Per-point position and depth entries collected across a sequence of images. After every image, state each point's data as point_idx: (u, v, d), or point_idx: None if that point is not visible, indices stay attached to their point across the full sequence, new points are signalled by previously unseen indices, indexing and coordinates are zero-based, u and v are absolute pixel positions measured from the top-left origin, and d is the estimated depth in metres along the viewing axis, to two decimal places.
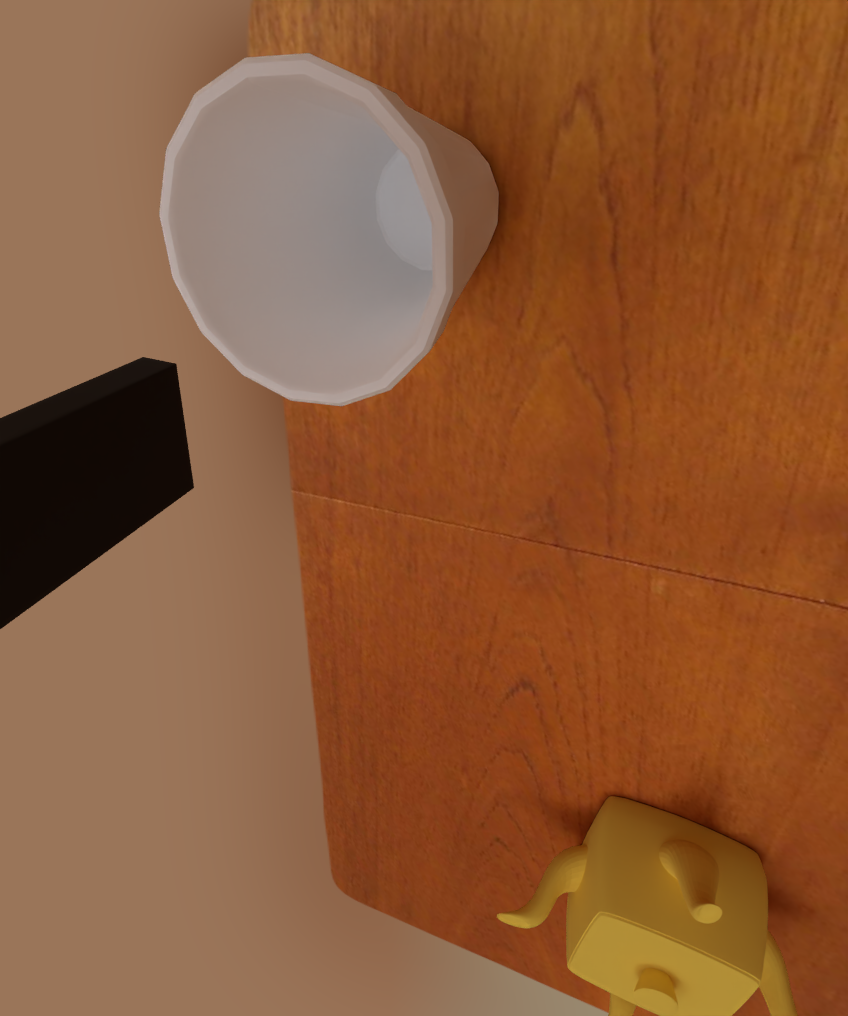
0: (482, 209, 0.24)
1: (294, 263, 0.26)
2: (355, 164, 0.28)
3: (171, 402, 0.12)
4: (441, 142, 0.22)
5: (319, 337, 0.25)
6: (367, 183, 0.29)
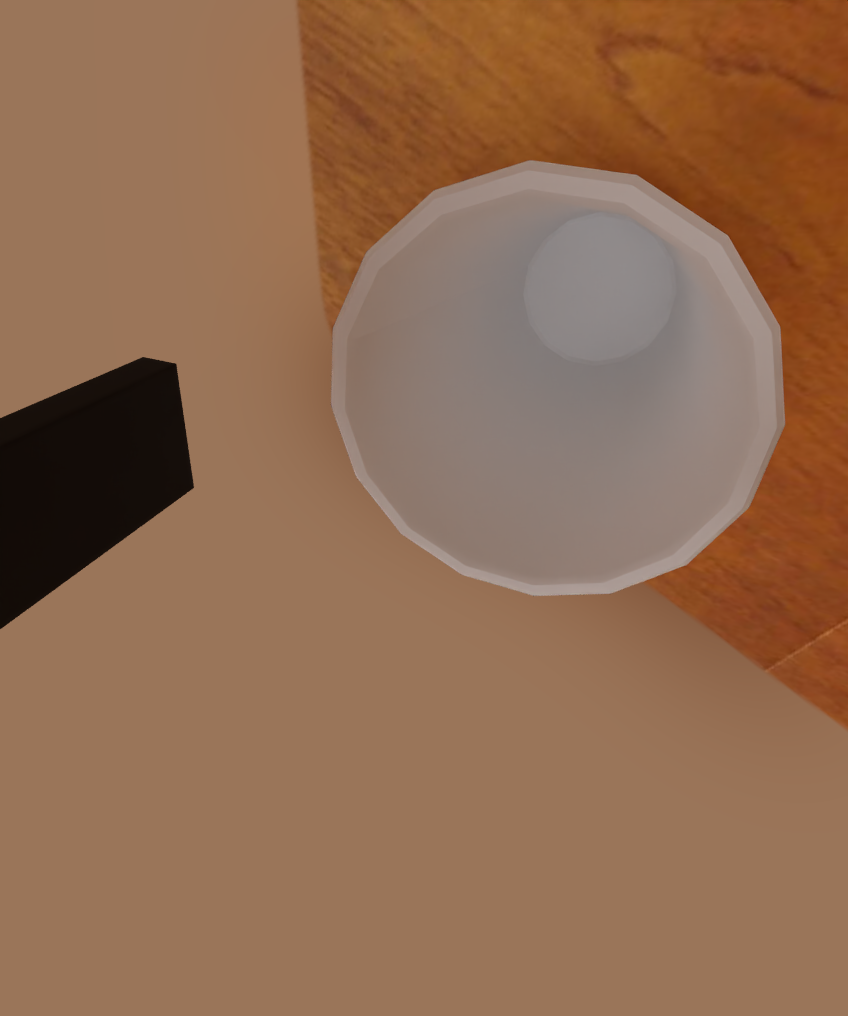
0: None
1: (543, 456, 0.21)
2: (505, 338, 0.24)
3: (171, 402, 0.12)
4: None
5: (637, 483, 0.18)
6: (529, 343, 0.25)
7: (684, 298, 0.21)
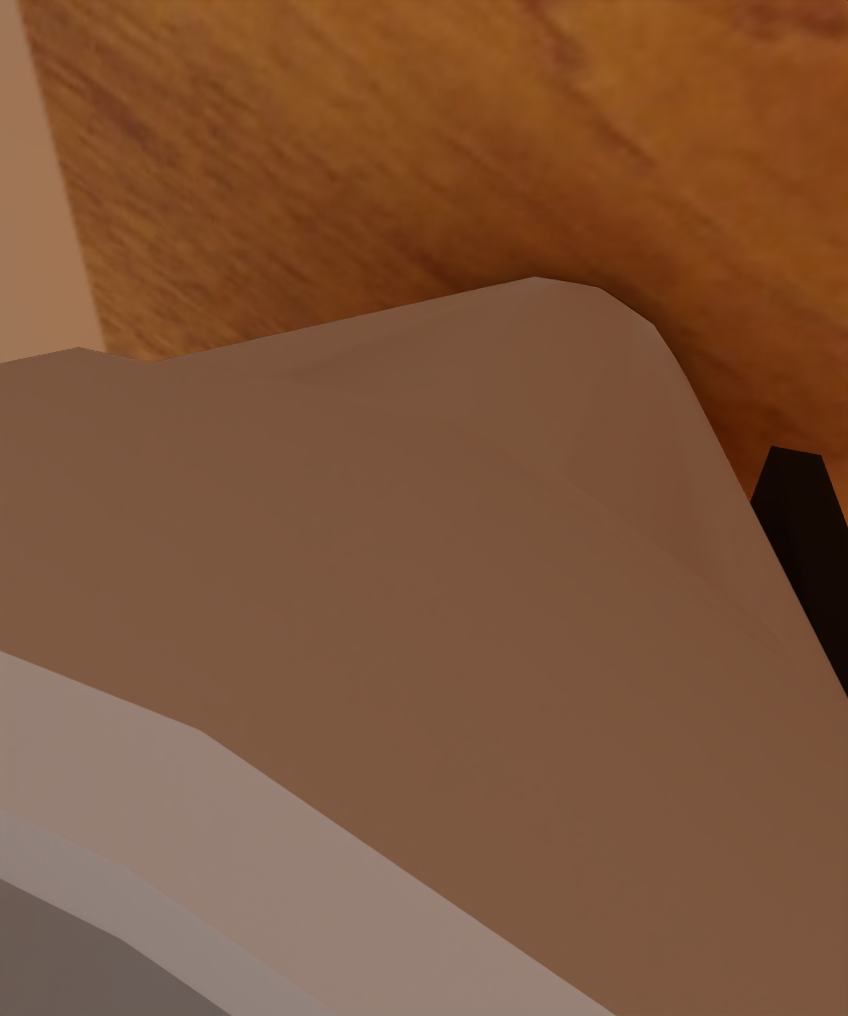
0: (591, 335, 0.07)
1: None
2: None
3: None
4: (339, 340, 0.07)
5: None
6: None
7: None
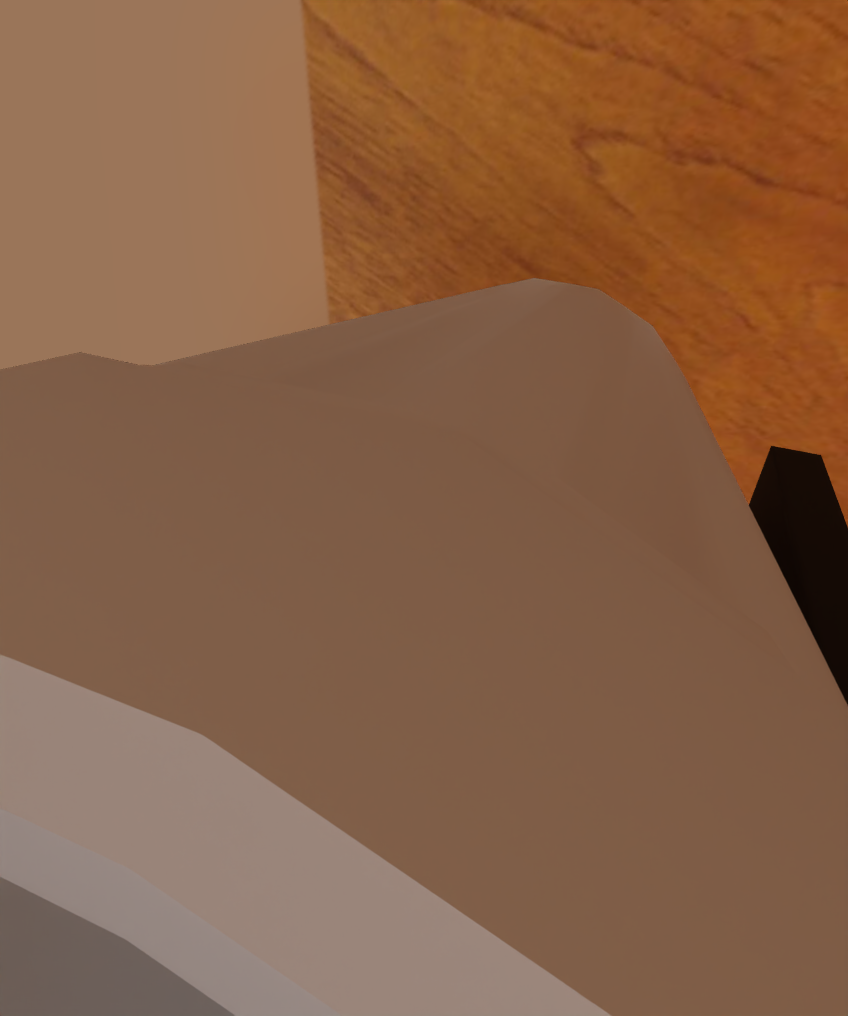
0: (589, 337, 0.07)
1: None
2: None
3: None
4: (338, 342, 0.07)
5: None
6: None
7: None
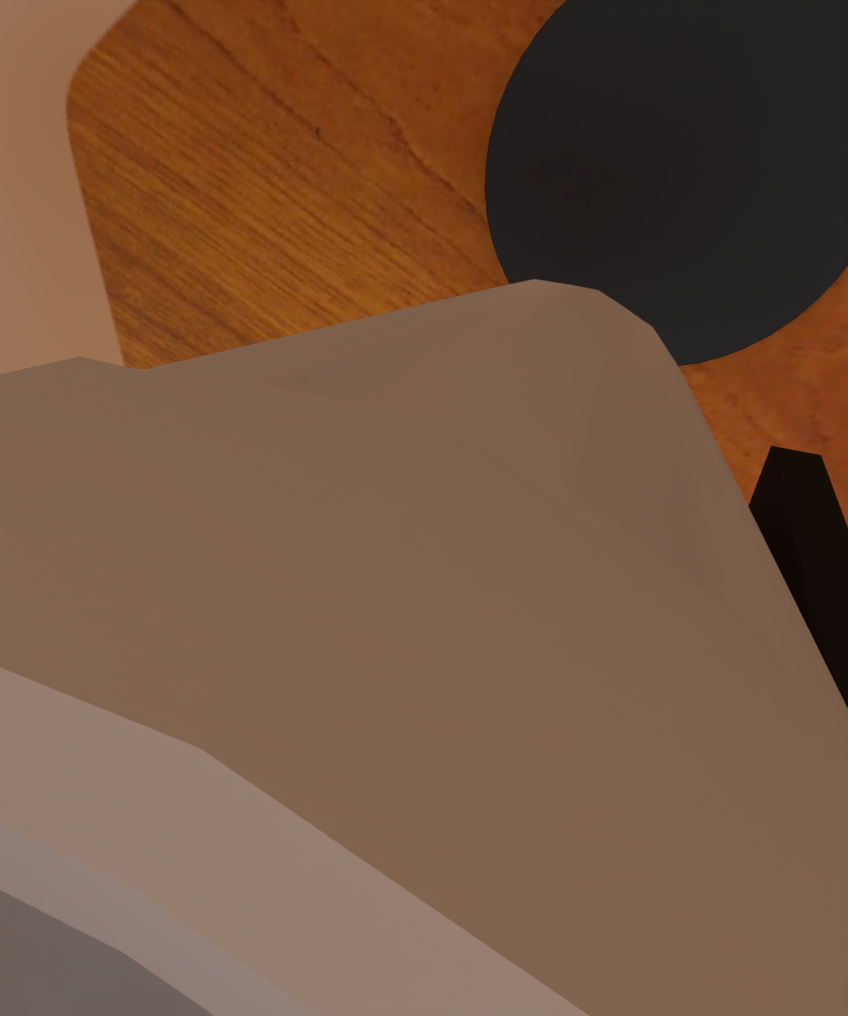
0: (589, 339, 0.07)
1: None
2: None
3: None
4: (338, 344, 0.07)
5: None
6: None
7: None
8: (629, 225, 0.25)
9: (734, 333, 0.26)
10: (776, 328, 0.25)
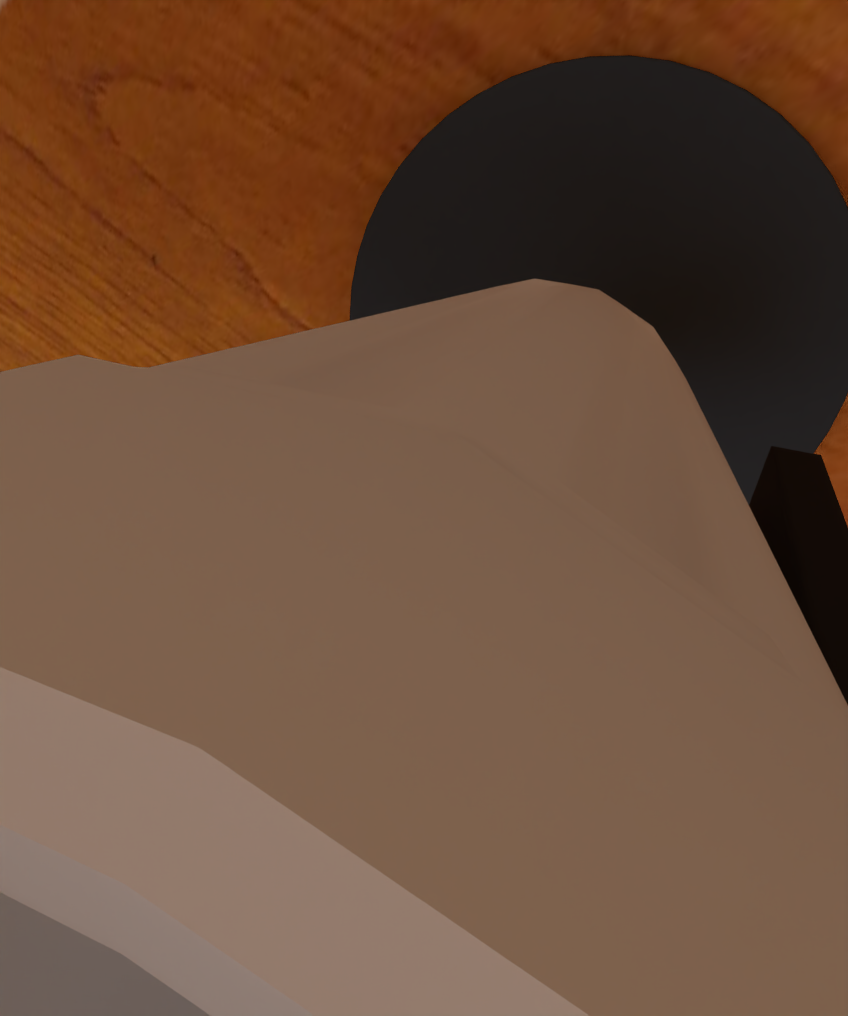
0: (590, 338, 0.07)
1: None
2: None
3: None
4: (338, 343, 0.07)
5: None
6: None
7: None
8: None
9: None
10: None
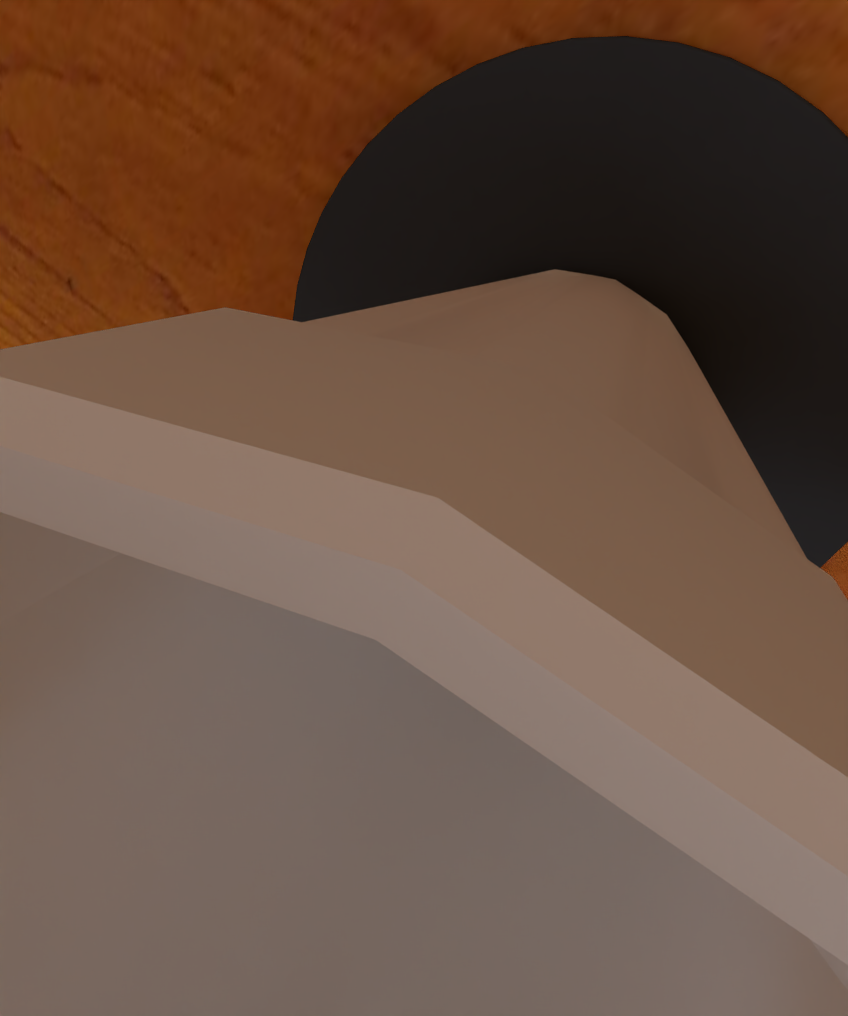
0: (614, 317, 0.08)
1: (431, 763, 0.11)
2: None
3: None
4: (388, 320, 0.08)
5: (595, 932, 0.08)
6: None
7: None
8: None
9: None
10: None
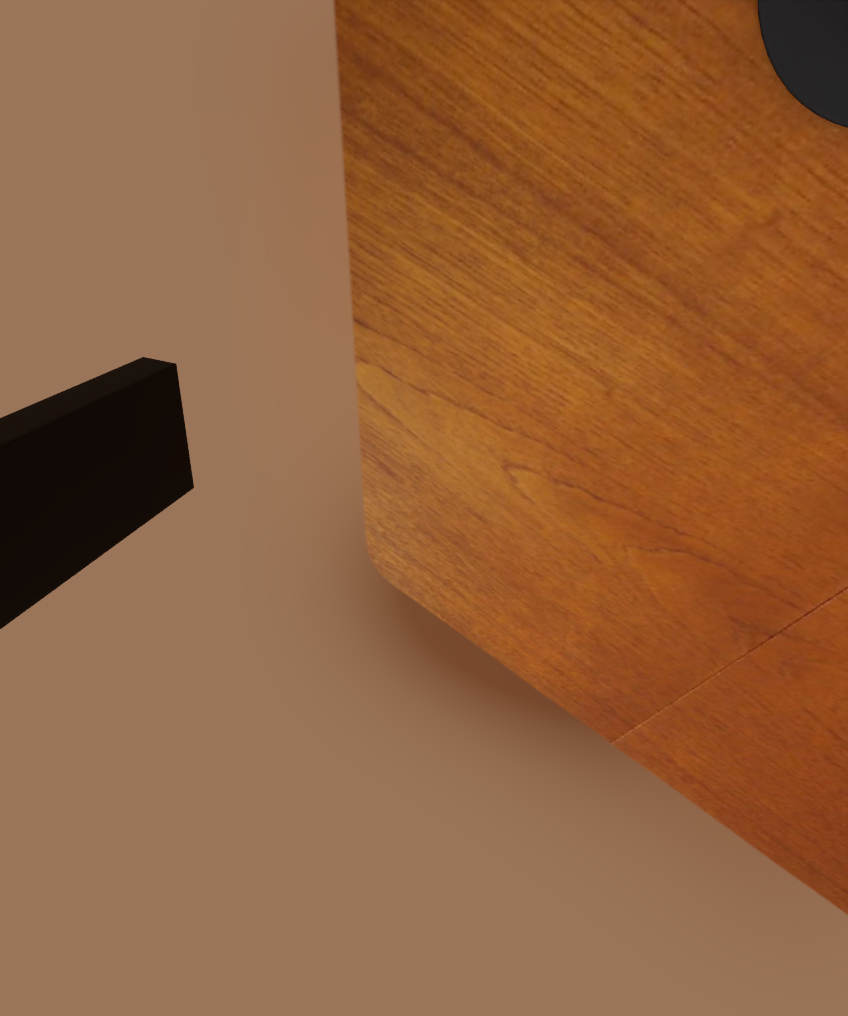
0: None
1: None
2: None
3: (171, 402, 0.12)
4: None
5: None
6: None
7: None
8: None
9: None
10: None
